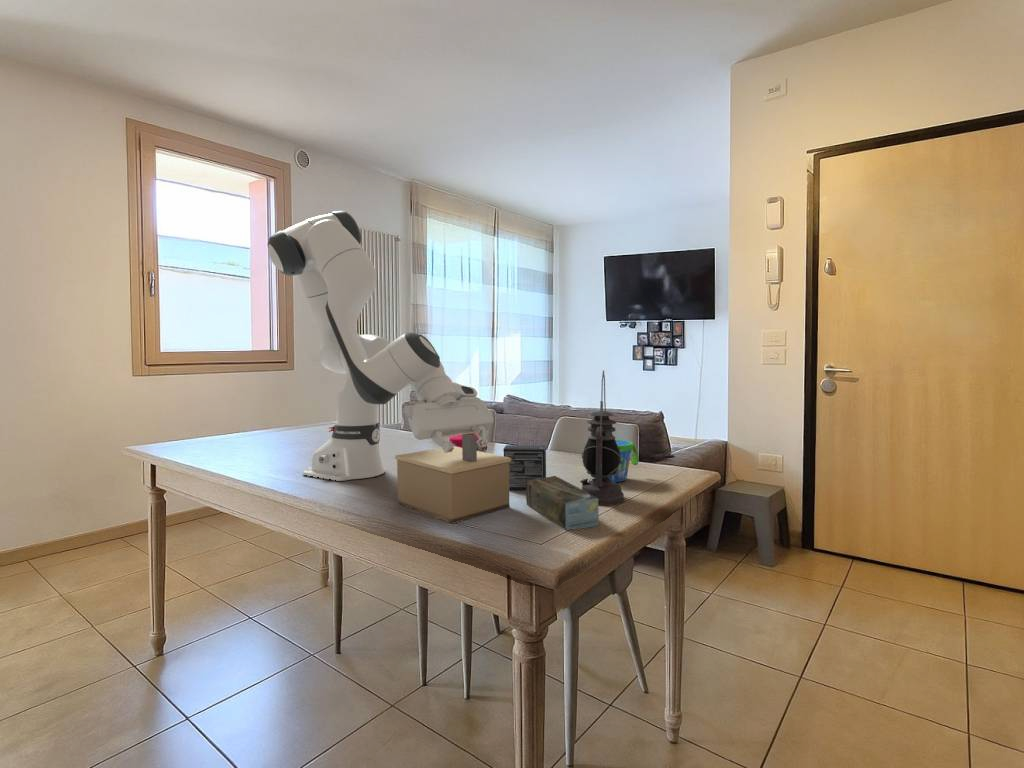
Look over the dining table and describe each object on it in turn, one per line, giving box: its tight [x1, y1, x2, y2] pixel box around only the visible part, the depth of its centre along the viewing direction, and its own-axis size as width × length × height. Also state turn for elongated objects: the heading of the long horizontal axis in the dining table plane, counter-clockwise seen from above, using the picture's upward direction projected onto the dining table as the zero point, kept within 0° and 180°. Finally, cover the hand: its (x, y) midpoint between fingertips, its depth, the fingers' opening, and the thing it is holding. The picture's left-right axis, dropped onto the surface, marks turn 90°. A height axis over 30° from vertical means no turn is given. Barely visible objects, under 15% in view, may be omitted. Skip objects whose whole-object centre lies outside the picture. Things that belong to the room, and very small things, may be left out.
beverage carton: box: [525, 475, 600, 531], centre depth 114 cm, size 8×19×7 cm, turn 22°
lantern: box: [579, 370, 625, 506], centre depth 125 cm, size 12×11×30 cm
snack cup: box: [608, 439, 639, 483], centre depth 143 cm, size 16×10×10 cm
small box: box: [503, 444, 547, 491], centre depth 136 cm, size 11×6×10 cm, turn 84°
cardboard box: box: [396, 459, 510, 524], centre depth 121 cm, size 20×16×10 cm
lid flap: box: [394, 434, 511, 474], centre depth 120 cm, size 21×17×6 cm
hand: (467, 448), depth 115 cm, fingers open, 8 cm apart
